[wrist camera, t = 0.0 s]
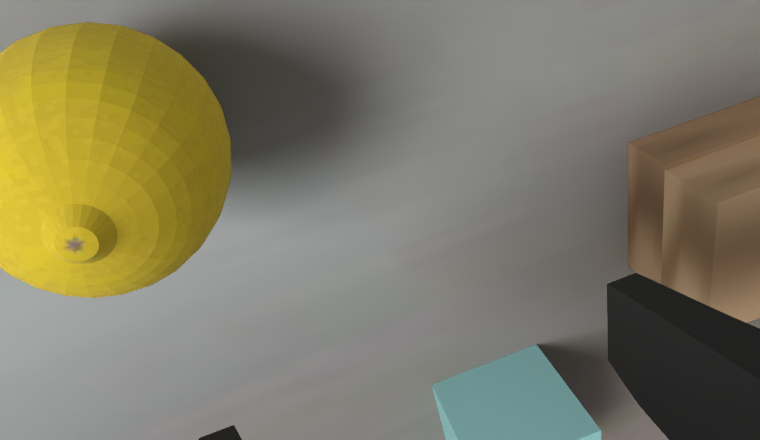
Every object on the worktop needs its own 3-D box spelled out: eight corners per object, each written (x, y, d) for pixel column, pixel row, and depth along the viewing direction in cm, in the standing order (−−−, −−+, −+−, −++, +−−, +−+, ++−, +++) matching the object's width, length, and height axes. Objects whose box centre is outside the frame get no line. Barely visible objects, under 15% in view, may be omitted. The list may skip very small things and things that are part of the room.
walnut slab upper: (789, 247, 24) (845, 282, 22) (660, 298, 24) (705, 339, 22) (813, 115, 21) (881, 141, 19) (664, 170, 21) (718, 202, 18)
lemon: (153, -42, 15) (125, 18, 9) (256, 137, 18) (296, 285, 12) (-43, 54, 15) (-229, 193, 8) (93, 219, 18) (38, 417, 11)
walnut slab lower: (743, 216, 26) (790, 245, 24) (623, 262, 26) (661, 295, 24) (759, 91, 23) (815, 111, 21) (622, 139, 23) (666, 165, 20)
